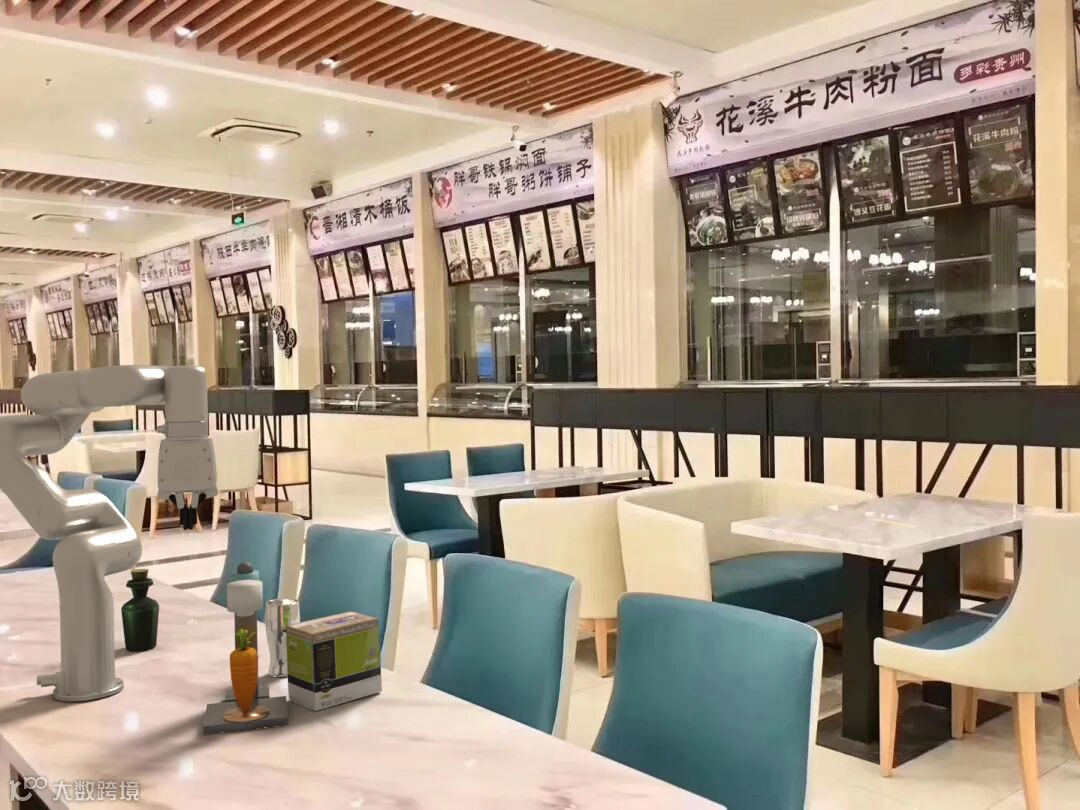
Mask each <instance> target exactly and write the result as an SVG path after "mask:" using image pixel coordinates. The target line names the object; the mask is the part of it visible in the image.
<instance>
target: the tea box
mask: <svg viewBox="0 0 1080 810" xmlns="http://www.w3.org/2000/svg"><path fill="white" fill-rule="evenodd" d="M380 636H381V635H380V620H379V618H378V617H374V616H371V615H366V614H363V613H358V612H354V611H347V612H342V613H337V614H332V615H328V616H323V617H318V618H314V619H310V620H305V621H300V623H296V624H292V625H287V626H286V643H287V673H288V677H287V692H288V699H289V701H290V700H291V702H292V701H294V702H296V703H298V704H297V705H299V704H300V705H299V706H301V705H302V707H303V706H304V707H303V708H306V707H307V708H306V709H308V708H309V710H310V709H311V710H310V711H314V712H317V711H320V710H324V709H328V708H331V707H335V706H338V705H341V704H344V703H348V702H352V701H355V700H357V699H360V698H361V699H362V698H366V697H368V696H371V695H375V694H378V693H381V692H382V690H383V687H382V661H381V656H382V655H381V637H380ZM294 702H293V703H294ZM296 703H295V704H296Z"/></svg>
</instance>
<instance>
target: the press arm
mask: <svg viewBox="0 0 1080 810" xmlns="http://www.w3.org/2000/svg"><path fill="white" fill-rule="evenodd" d="M236 567H237V568H236V570H235V571H233V572H231V574H230V576H231V577H230V579H231V581H230V582H229V583H227V584H226V604H227V605H226V607H227V609H226V611H227V612H229V613H233V614H234V613H236V615H237V616H251V615H254V611H257V612H258V611H260V610H263V608H264V597H263V596H264V594H263V593H264V592H263V589H264V588H263V581H262V580H260V571H259V570H256V569H254V567H253V565H252V564H251V563H250V562H248V561H243V562H240V563H239V564H238V565H237V566H236Z"/></svg>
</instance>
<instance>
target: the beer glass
mask: <svg viewBox="0 0 1080 810" xmlns="http://www.w3.org/2000/svg"><path fill="white" fill-rule="evenodd" d="M299 604H300V603H299V599H298V598H293V597H291V598H290V597H284V598H281V597H280V598H274V599H270V600H267V601H266V603H265V615H264V616H265V617H264V618H265V623H264V624H265V625H264V626H265V633H266V640H267V646H268V650H269V667H268V673H267V674H268V676H269V675H270V676H269V677H271V676H276V677H282V678H284V677H283V676H288V673H287V643H286V626H287V625H292V624H296V623H301V615H300V605H299ZM276 677H275V678H276Z"/></svg>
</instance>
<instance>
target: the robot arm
mask: <svg viewBox="0 0 1080 810" xmlns="http://www.w3.org/2000/svg"><path fill="white" fill-rule="evenodd" d="M20 400H21V402H22V404H23V405H24V407H25V408H26V409H27V410H29V411H30V412H32V413H34V414H13V415H3V416H0V491H2V493H3V494H4V495H5V496H6V497H7V498H8V500H10V502H11V503H12V504H13V506H14V507H15V509H16V510H17V511H18V512H19V514H20V515H22V517H23V519H24V520H25V521H26V522H27V524H28V525H29V526H30V527H31V528H32V530H33V531H34V532H35V533H36V534H37V535H38V536H39V537H41V538H42V539H44V540H48V541H56V540H57V541H58V540H60V541H59V542H58V543H57V545H56V546H55V548H54V550H53V554H52V564H53V571H54V575H55V577H56V578H55V579H56V583H57V588H58V600H59V618H60V619H59V620H60V621H59V624H60V625H59V626H60V627H59V628H60V630H59V632H60V633H59V634H60V671H56V672H55V673H52V674H48V673H46V674H39V675H37V676H36V686H40V687H41V688H44V687H45V688H46V687H54V688H53V690H52V698H53V699H55V700H57V701H61V702H71V703H72V702H74V703H75V702H87V701H93V700H98V699H104V698H106V697H110V696H113V695H115V694H117V693H119V692H121V691H122V690H123V689H124V687H125V685H124V684H125V681H124V680H123V679H122V678H120V677H116V662H115V660H116V659H115V658H116V657H115V656H116V653H115V616H114V615H115V614H114V613H115V610H114V605H115V604H114V598H113V597H114V596H113V594H112V591H111V589H110V586H108V583H107V581H106V580H105V577H107V576H111V575H114V574H119V573H122V572H125V571H127V570H130V569H132V568H134V567H135V566H136V565H137V564H138V563H139V561H140V560H141V557H142V554H143V545H142V542H141V538H140V537H139V535H138V533H137V532H136V530H135V528H133V526H132V525H131V524H130V522H129V521H128V520H127V519H126V517H125V516H124V515H123V514H122V513H121V511H120V510H119V509H118V508H117V506H115V504H114V503H113V502H112V501H111V500H110V499H109V498H108V497H107V496H106V495H105V494H104V493H103V492H100V491H98V490H97V489H91V488H76V489H64V488H62V487H61V486H60V484H58V483H57V482H56V480H54V478H53V477H52V475H50V473H49V472H48V471H47V470H46V469H44V468H43V467H41V466H40V465H38V464H37V463H35V462H33V461H31V460H30V459H28V458H27V457H32V456H33V457H34V456H46V455H52V454H56V453H59V452H60V451H61V450H63V449H64V448H65V447H66V446H67V445H69V443H70V442H71V441H72V439H73V438H74V437H75V435H76V434H77V432H78V431H79V430H80V429H81V427H82V426H83V424H84V423H85V421H86V420H87V419H88V418H89V417H90V415H91V413H97V412H100V411H102V410H104V408H110V407H123V406H125V407H127V406H130V407H131V406H160V405H162V406H163V405H164V421H165V422H164V423H163V424H162V425H157V426H156V432H157V434H162V435H164V437H165V438H164V439H161V440H160V443H159V448H158V457H157V459H158V462H157V489H158V491H157V496H156V497H157V499H161V500H166V501H171V502H172V503H173V504H174V506H176V507H177V509H178V510H179V526H183V527H182V528H183V529H182V530H183V531H186V530H191V531H192V530H193V529H195V525H198V507H199V505H201V503H202V502H203V501H204V500H206V499H210V498H213V497H217V496H218V494H219V490H218V486H217V478H218V477H217V465H216V462H217V461H216V454H215V447H214V442H213V438H211V437H209V421H208V420H209V415H208V414H209V411H208V409H209V408H208V406H209V405H208V403H209V402H208V373H207V370H206V368H205V367H203V366H199V365H172V366H168V365H151V364H148V365H147V364H145V365H144V364H123V365H122V364H121V365H109V366H100V367H94V368H93V367H92V368H87V369H85V368H84V369H76V370H67V371H66V370H65V371H58V372H48V373H41V374H37V375H35V376H32V377H31V378H29V379H28V380H26V382H25V383H24V384H23V386H22V387H21V391H20ZM185 493H191V501H190V503H189V506H188V504H187V502H186V497H185Z"/></svg>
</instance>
